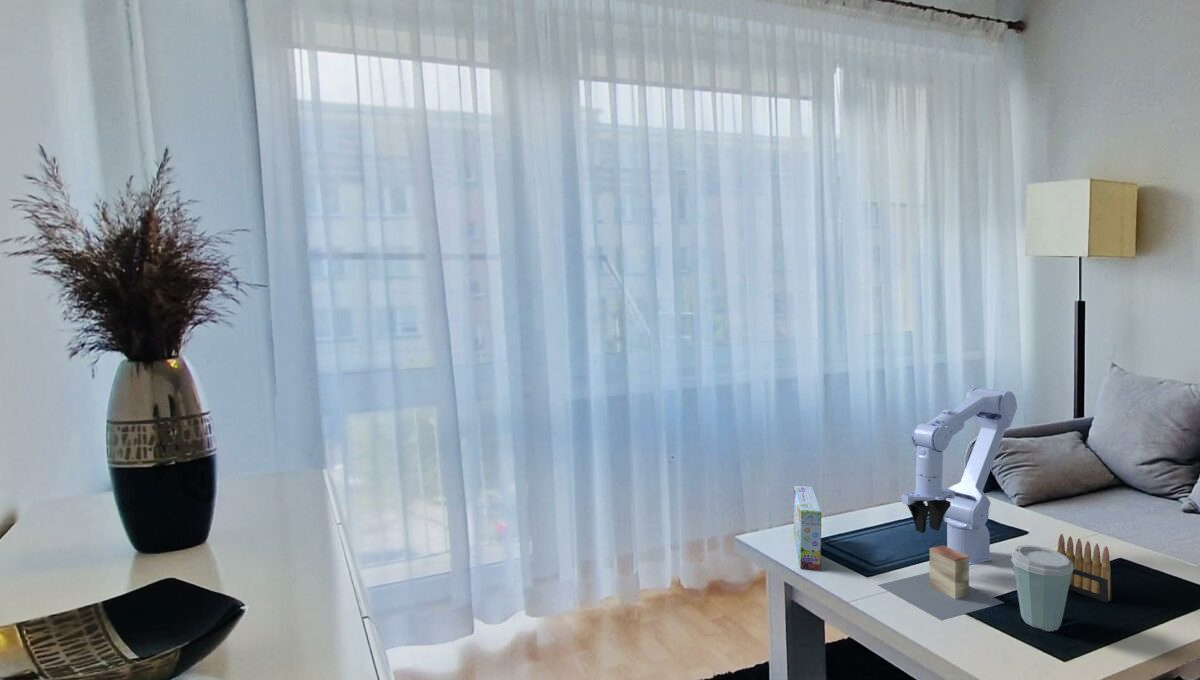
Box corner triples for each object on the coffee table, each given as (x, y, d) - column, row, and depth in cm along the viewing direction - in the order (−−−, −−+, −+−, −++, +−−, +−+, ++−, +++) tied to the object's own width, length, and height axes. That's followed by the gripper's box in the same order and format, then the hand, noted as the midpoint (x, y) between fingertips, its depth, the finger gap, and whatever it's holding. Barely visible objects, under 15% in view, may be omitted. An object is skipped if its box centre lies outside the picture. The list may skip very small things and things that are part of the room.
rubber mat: (936, 572, 162) (936, 570, 162) (1004, 604, 146) (1004, 602, 146) (877, 586, 156) (877, 584, 156) (941, 622, 139) (941, 620, 139)
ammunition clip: (1112, 600, 145) (1113, 546, 144) (1107, 602, 145) (1109, 548, 144) (1058, 582, 155) (1059, 531, 154) (1054, 584, 154) (1054, 533, 153)
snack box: (823, 570, 166) (822, 511, 165) (799, 569, 167) (798, 510, 166) (813, 538, 187) (813, 484, 186) (792, 537, 188) (791, 484, 187)
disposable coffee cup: (1069, 617, 139) (1070, 547, 138) (1076, 643, 130) (1078, 567, 128) (1009, 607, 144) (1010, 539, 143) (1011, 631, 135) (1012, 558, 133)
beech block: (942, 582, 156) (942, 545, 155) (968, 595, 149) (968, 556, 149) (929, 586, 154) (929, 548, 154) (955, 599, 148) (955, 559, 147)
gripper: (918, 481, 155) (917, 539, 155) (966, 475, 160) (964, 531, 160) (895, 474, 161) (894, 530, 162) (941, 468, 166) (940, 522, 167)
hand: (927, 530), depth 162 cm, fingers open, 4 cm apart
